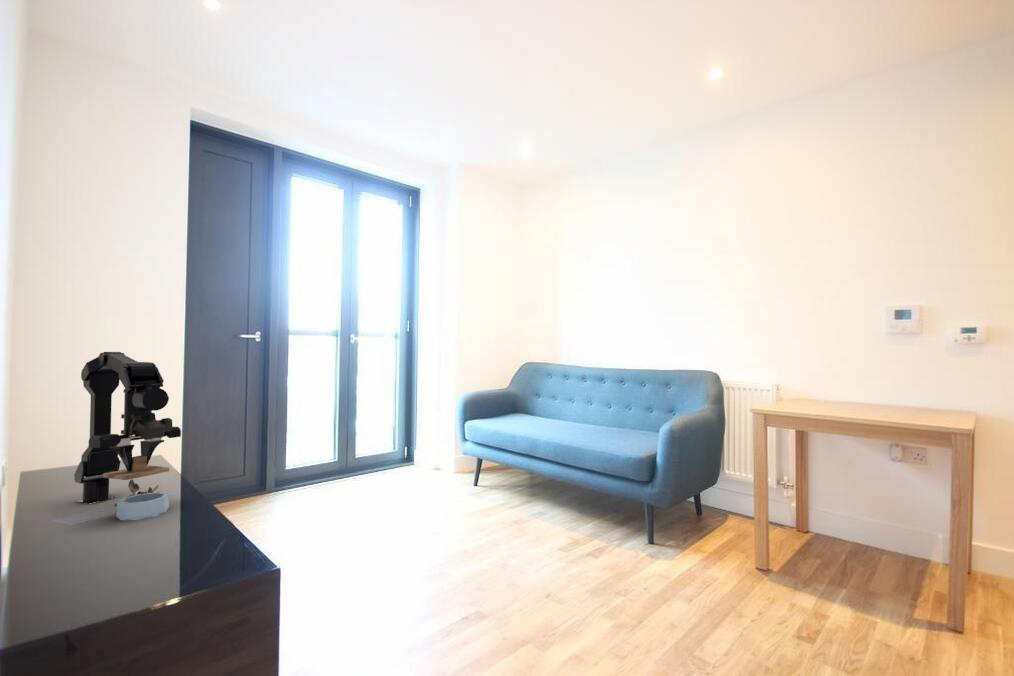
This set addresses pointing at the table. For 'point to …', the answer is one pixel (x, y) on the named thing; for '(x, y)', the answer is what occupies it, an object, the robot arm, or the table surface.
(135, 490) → the eagle figurine
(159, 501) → the bowl
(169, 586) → the table surface
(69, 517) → the mat
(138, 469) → the lid
